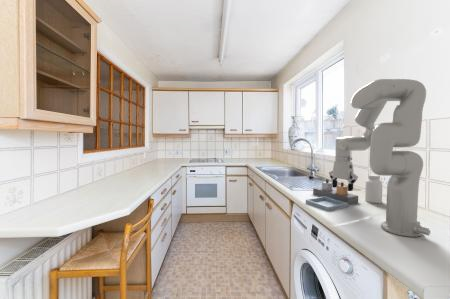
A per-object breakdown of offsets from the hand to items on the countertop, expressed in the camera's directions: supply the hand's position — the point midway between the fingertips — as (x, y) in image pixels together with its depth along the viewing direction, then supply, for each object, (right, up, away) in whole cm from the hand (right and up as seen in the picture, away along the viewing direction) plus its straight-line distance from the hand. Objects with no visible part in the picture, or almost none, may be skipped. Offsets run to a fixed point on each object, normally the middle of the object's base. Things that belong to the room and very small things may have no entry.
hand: (342, 188), depth 124 cm
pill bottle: (+18, -7, 0) cm, 19 cm away
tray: (-13, -8, -7) cm, 17 cm away
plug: (0, -7, +1) cm, 7 cm away
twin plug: (-4, -7, +10) cm, 13 cm away
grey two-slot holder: (-2, -7, +5) cm, 9 cm away
